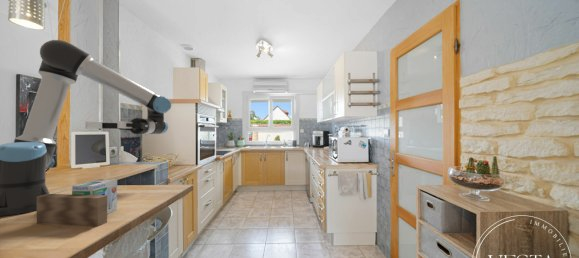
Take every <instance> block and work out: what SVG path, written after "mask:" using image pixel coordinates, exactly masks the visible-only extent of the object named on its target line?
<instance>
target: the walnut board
mask: <svg viewBox="0 0 579 258" xmlns="http://www.w3.org/2000/svg"><path fill="white" fill-rule="evenodd" d="M35 223H36V225H60V226H61V225H62V226H63V225H64V226H85V227H86V226H88V227H99V226H101V225H104V224H106V223H108V214H107V195H72V193H71V194H70V193H68V194H66V193H63V194H62V193H60V194H58V193H50V194H46V195H41V196H37V210H36V222H35Z"/></svg>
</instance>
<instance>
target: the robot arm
mask: <svg viewBox="0 0 579 258" xmlns="http://www.w3.org/2000/svg"><path fill="white" fill-rule="evenodd" d="M39 56H40V58H41V63H40V65H39V69H38V71H37V73H38V74H39V75H40V76H41V80H40V82H39V86H38V89H37V92H36V94H35V97H34V100H33V102H32V103H33V104H32V107H31V108H30V111H29V115H28V118H27V120H26V123H25V126H24V129H23V132H22V134H21V135H19V136H17V137H15V138H14V141H13V142H10V143H9V142H8V143H3V144H0V217H3V216H4V217H5V216H12V215H19V214H25V213H30V212H36V211H37V196H41V195H46V194H51V193H50V191H49V188H48V187H47V184H46V179H47V178H46V174H47V173H46V172H47V171H46V169H48V168H49V167H50V166H51V164H52V163H53V161H54V153H55V149H56V145H57V142H56V141H55V140H54V135H55V133H56V129H57V126H58V123H59V121H60V118H61V113H62V112H63V109H64V108H63V107H64V105H65V103H66V102H65V101H66V99H67V96H68V92H69V90H70V86H71V85H73V84H76V83H77V80H78V77H79V76H80V75H81V76H83V77H86V78H88V79H89V80H92V81H94V82H95V83H98V84H100V85H101V86H104V87H105V88H108V89H110V90H112V91H114V92H116V93H118V94H120V95H122V96H124V97H126V98H128V99H130V100H131V101H134V102H136V103H138V104H140V105H142V106H143V107H145V108H147V111H146V112H147V116H146V117H147V118H140V117H136V118H133V119H131V121H123V120H121V121H119V120H117V122H101V121H85V129H87V130H89V129H96V130H99V131H102V129H104V130H105V129H106V130H107V129H111V130H112V129H115V130H116V129H118V130H120V131H123V130H125V131H130V132H131V134H134V135H145V136H148V135H162V134H165V133H166V132H167V131H168V129H169V125H168V123H167V121H165V115H164V114H165V113H168V112H169V111H170V110H171V109H172V102H171V100H170V99H169V98H167V97H166V96H162V95H161V96H160V95H159V94H157V93H155V92H153V91H152V90H150V89H148V88H146V87H145V86H142V85H140V84H139V83H138V82H135V81H133V80H131V79H130V78H128V77H126V76H124V75H122V74H121V73H119V72H117V71H115V70H114V69H112V68H109V67H107V66H106V65H104V64H102V63H101V62H99V61H97V60H95V59H94V58H93V57H92V56H93V55H92V54H90V53H88V52H86V51H84V50H82V49H81V48H79V47H77V46H76V45H74V44H72V43H70V42H67V41H64V40H59V39H51V40H48V41H45V42H44V43H43V44H42V45H41V46H40V48H39Z"/></svg>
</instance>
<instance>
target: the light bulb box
mask: <svg viewBox="0 0 579 258" xmlns="http://www.w3.org/2000/svg"><path fill="white" fill-rule="evenodd" d="M71 194H72V195H107V215H108V214H110V213H113V212H115V211H117V210H118V208H117V207H118V179H115V178H114V179H111V178H110V179H107V178H106V179H103V178H102V179H101V178H99V179H95V180H90V181H88V182H83V183H79V184H75V185H72V186H71Z"/></svg>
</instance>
